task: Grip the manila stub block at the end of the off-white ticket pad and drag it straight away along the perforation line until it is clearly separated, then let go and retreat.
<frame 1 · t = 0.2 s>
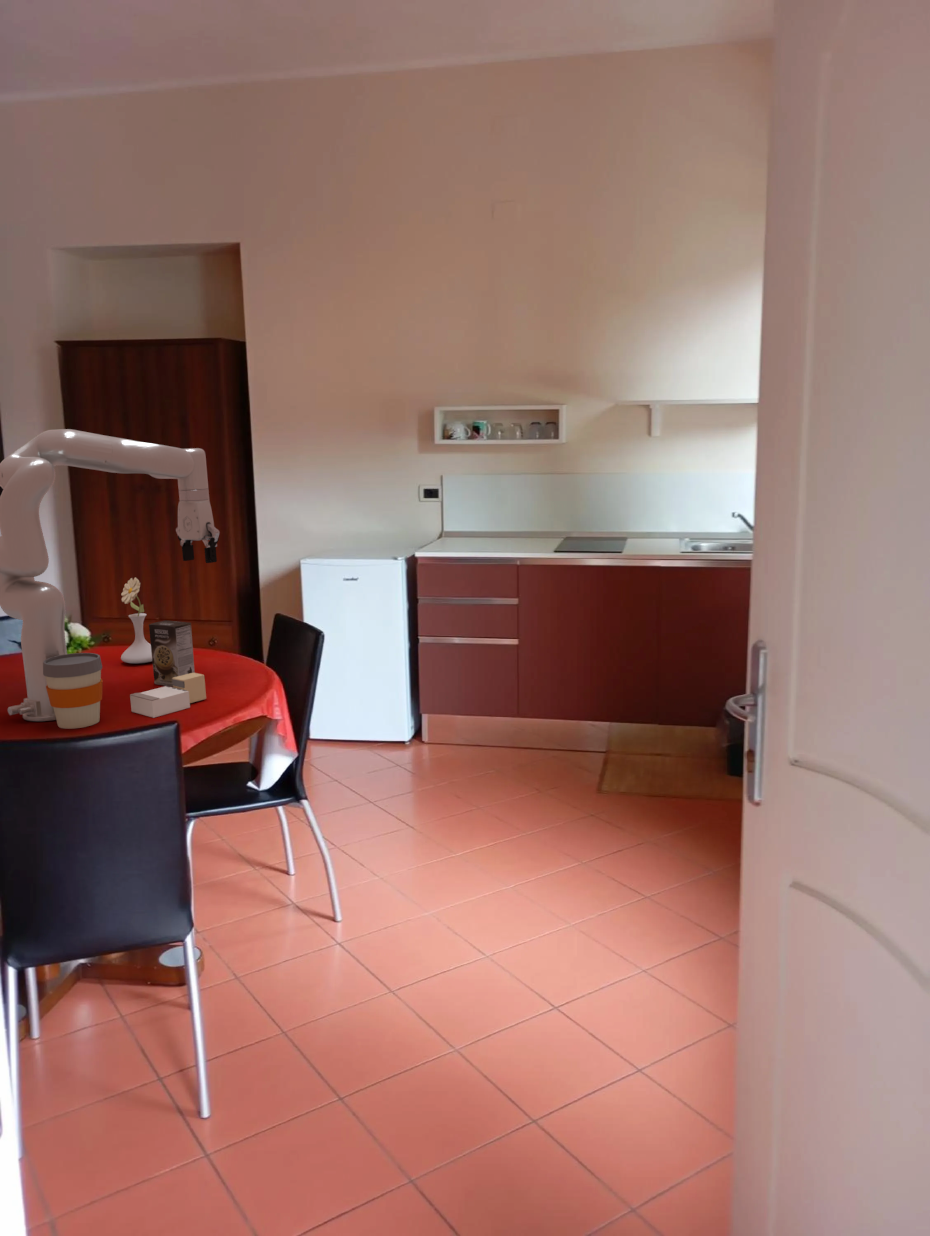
hand: (199, 561, 261), 31 cm above the table, fingers open, 9 cm apart
reusable coffee cup: (79, 723, 226), on the table
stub: (189, 688, 240), point 3 cm above the table, slide at 0.0 cm
flower in vase: (142, 663, 285), on the table
coffee box: (175, 683, 260), on the table
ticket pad: (161, 709, 235), on the table
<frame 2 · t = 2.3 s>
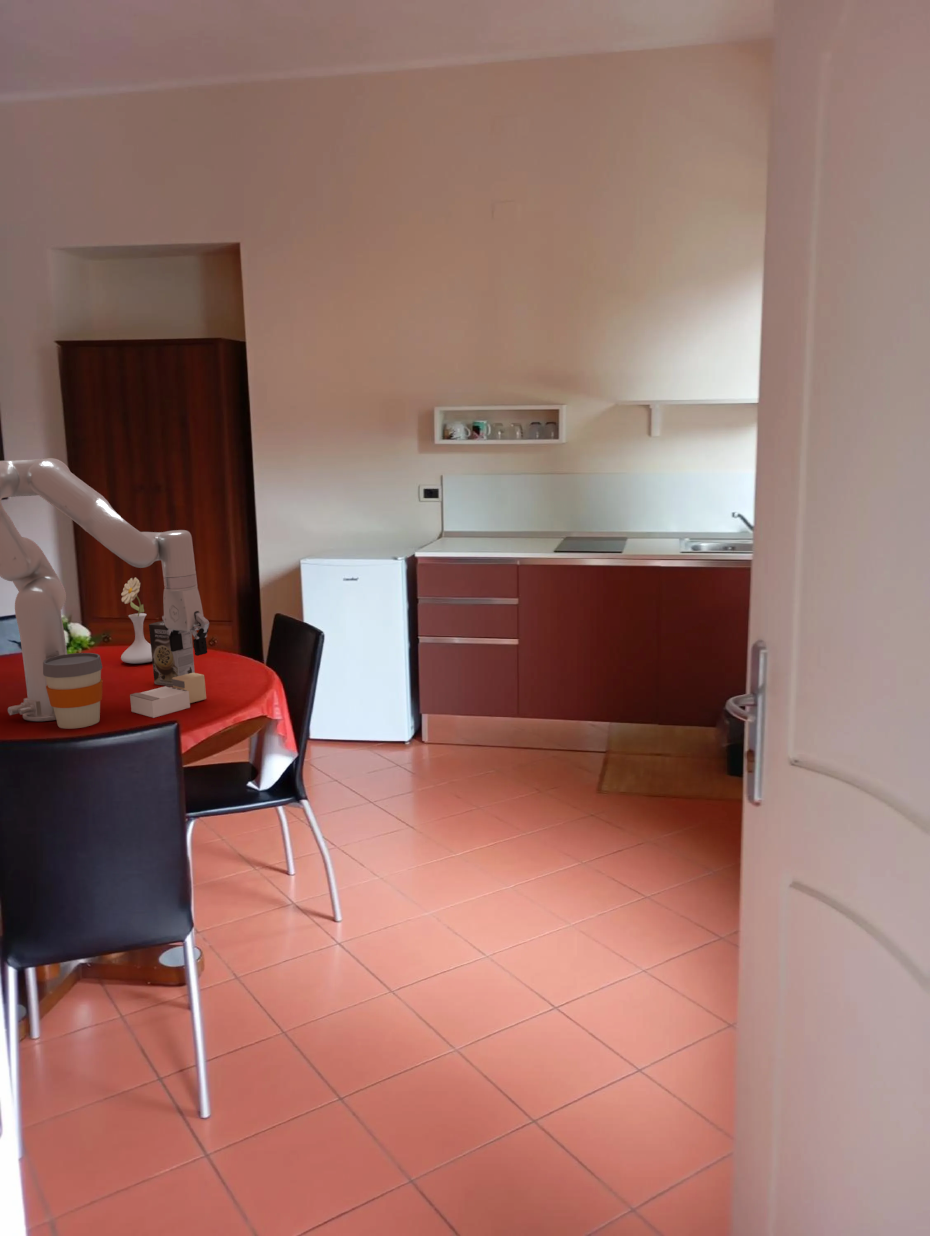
hand: (189, 652, 239), 12 cm above the table, fingers open, 9 cm apart
nothing on the table moved.
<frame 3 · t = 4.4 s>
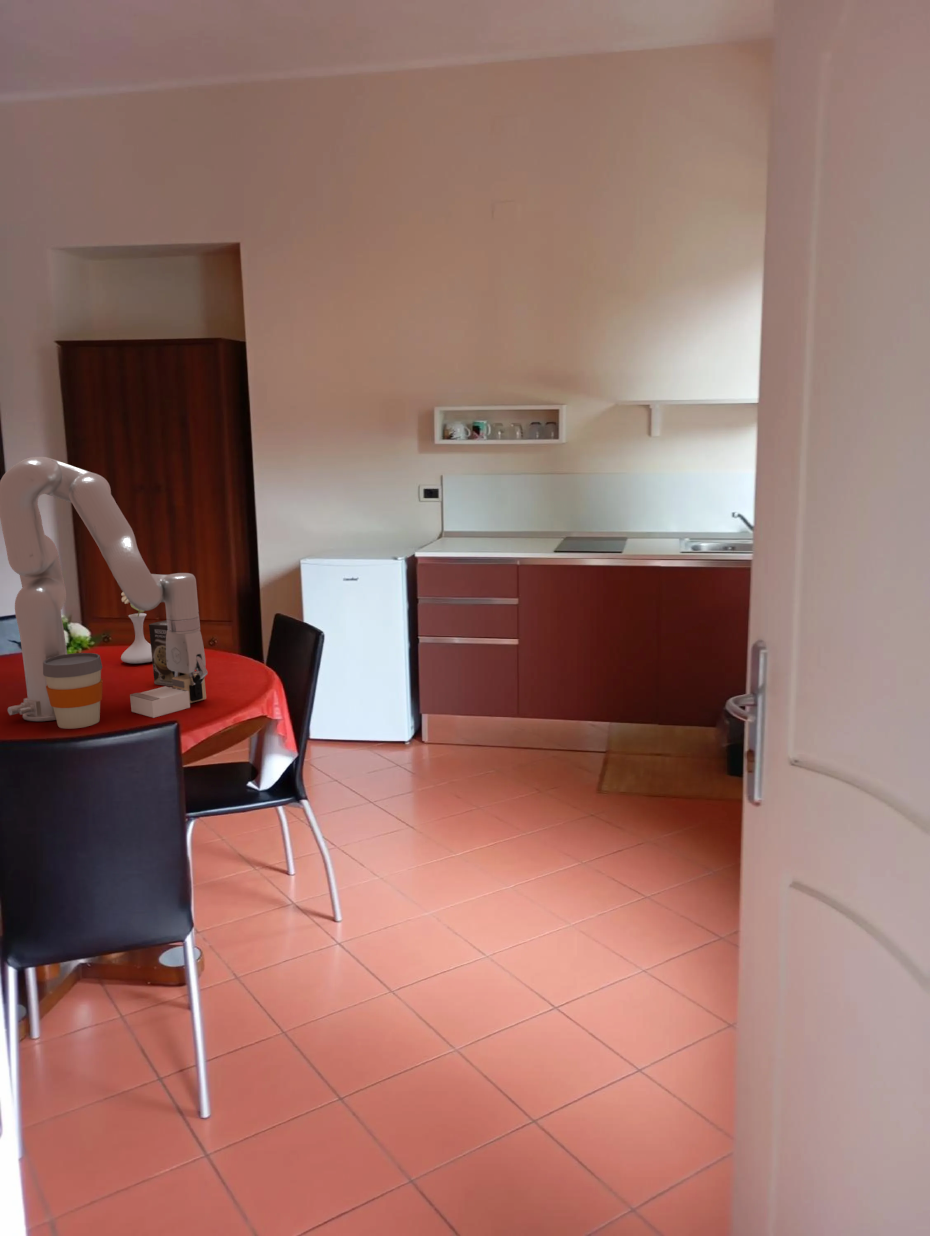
hand: (190, 697, 241), 1 cm above the table, fingers closed on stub, 4 cm apart
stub: (189, 688, 240), point 3 cm above the table, slide at 0.0 cm, touching gripper
everything else where it was.
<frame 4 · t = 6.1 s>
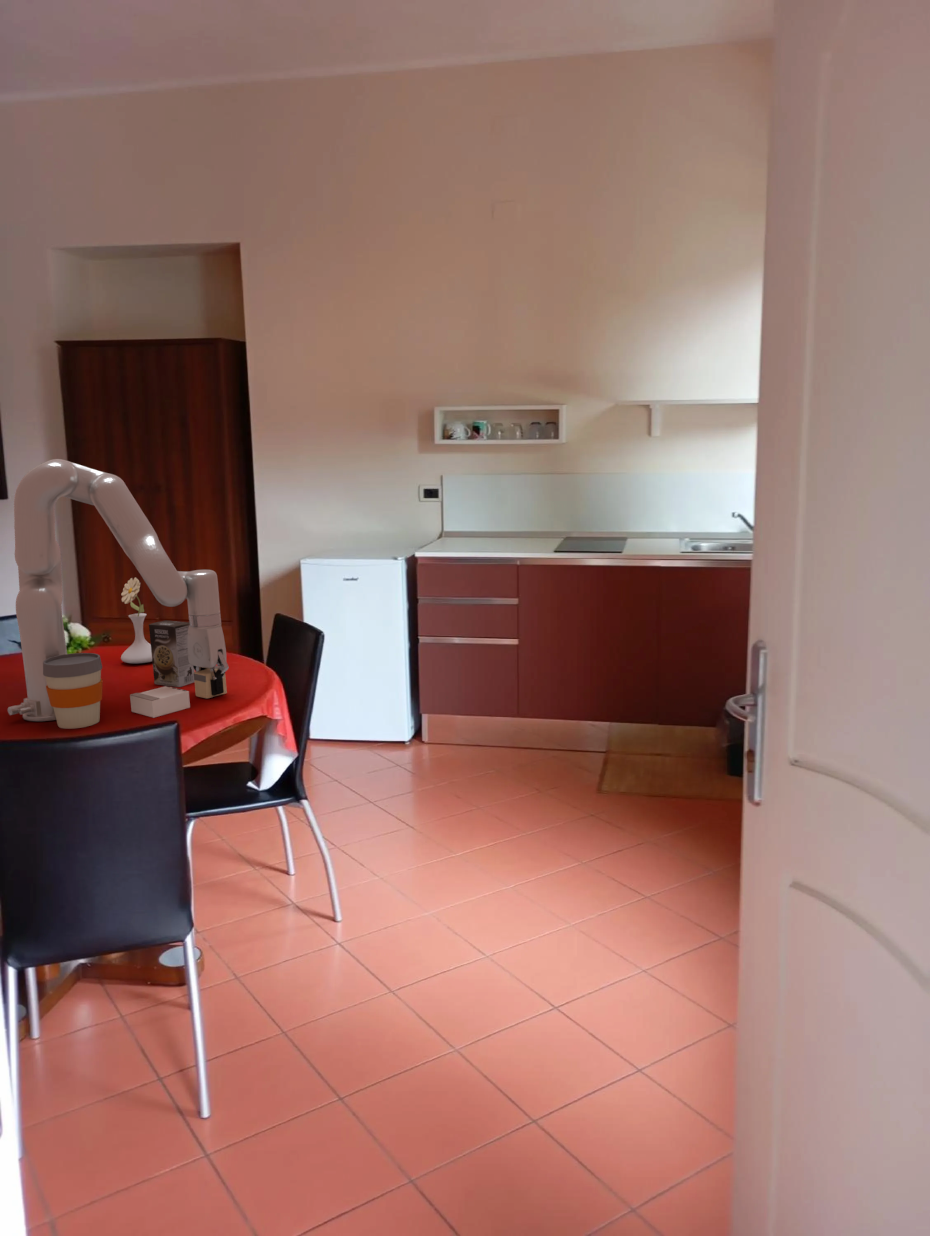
hand: (211, 691, 246), 1 cm above the table, fingers closed on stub, 4 cm apart
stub: (210, 682, 245), point 3 cm above the table, slide at 6.2 cm, touching gripper
everything else where it was.
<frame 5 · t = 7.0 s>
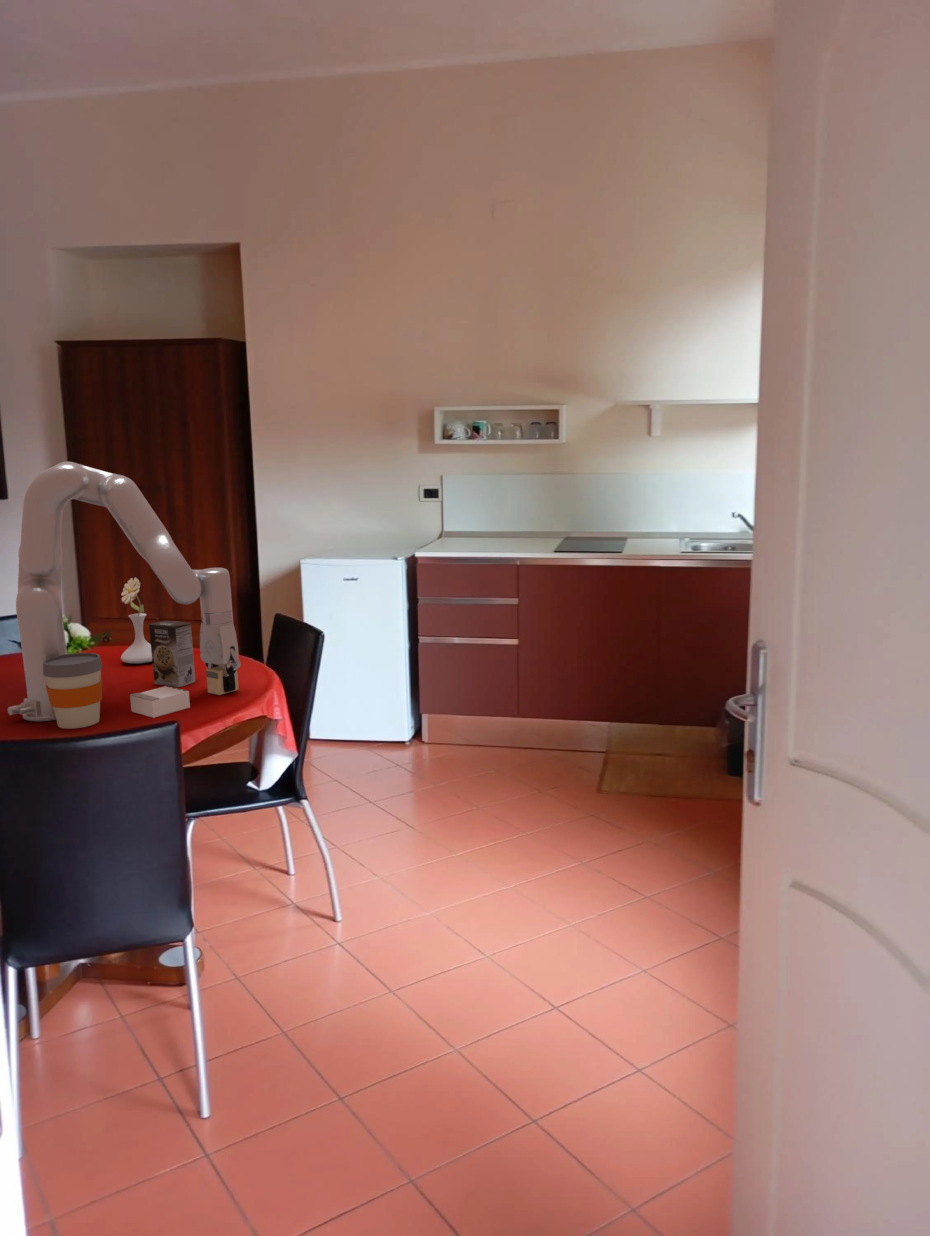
hand: (223, 688, 248), 1 cm above the table, fingers closed on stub, 4 cm apart
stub: (222, 679, 248), point 3 cm above the table, slide at 9.8 cm, touching gripper
everything else where it was.
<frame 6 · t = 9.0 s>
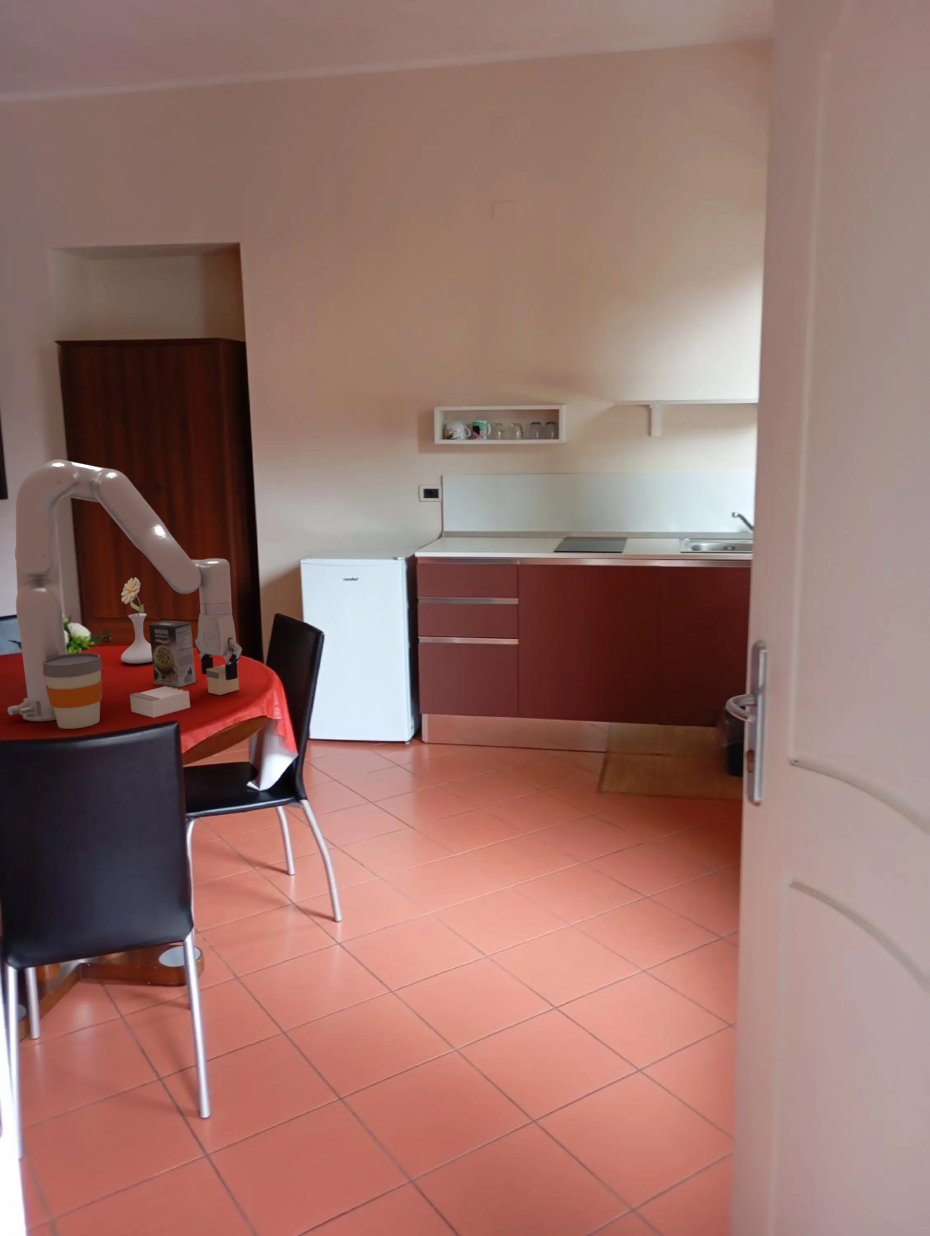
hand: (219, 676, 248), 4 cm above the table, fingers open, 9 cm apart
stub: (222, 679, 248), point 3 cm above the table, slide at 10.0 cm
everything else where it was.
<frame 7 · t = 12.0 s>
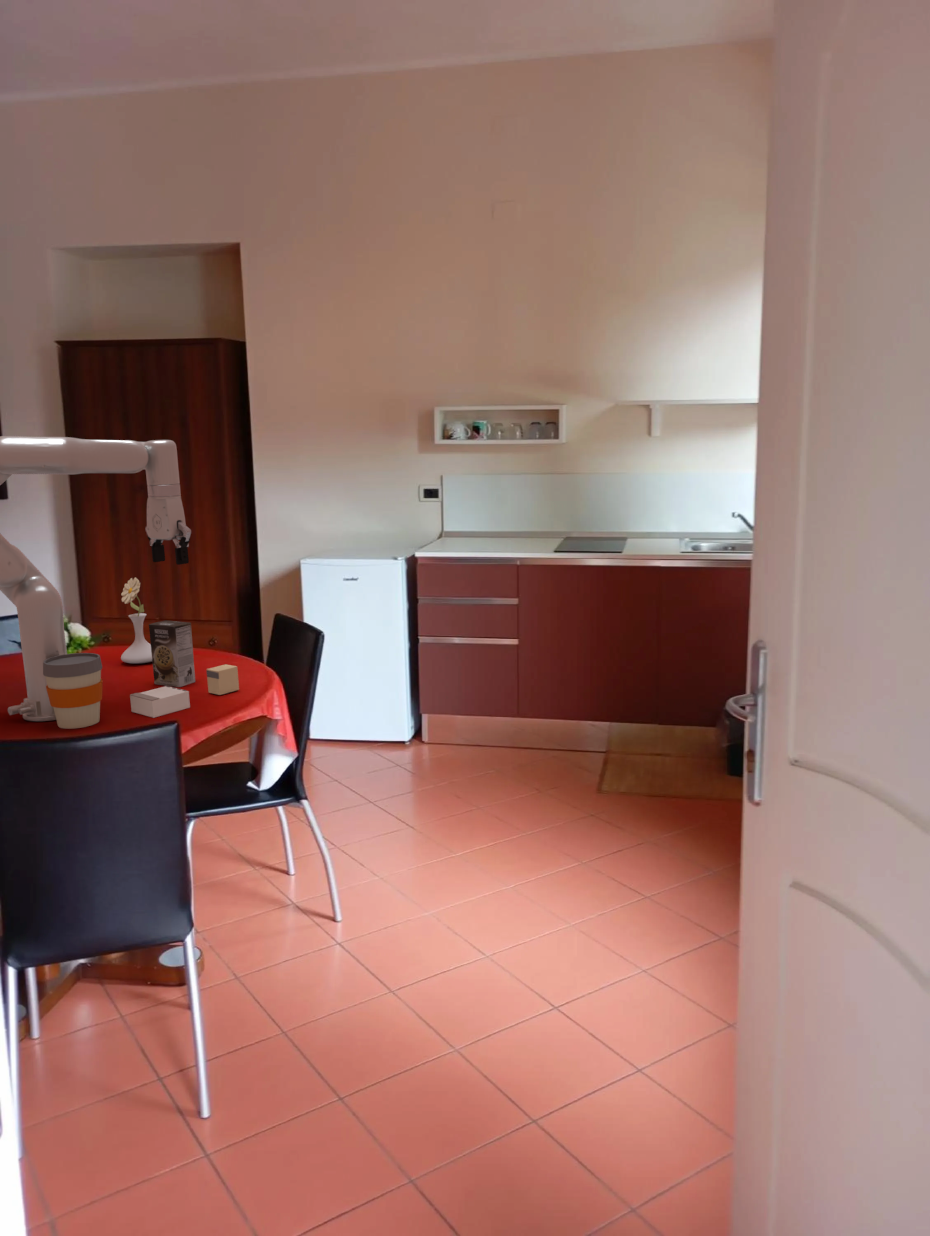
hand: (170, 562, 241), 33 cm above the table, fingers open, 9 cm apart
nothing on the table moved.
at the end: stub slide at 10.0 cm; the gripper is holding nothing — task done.
